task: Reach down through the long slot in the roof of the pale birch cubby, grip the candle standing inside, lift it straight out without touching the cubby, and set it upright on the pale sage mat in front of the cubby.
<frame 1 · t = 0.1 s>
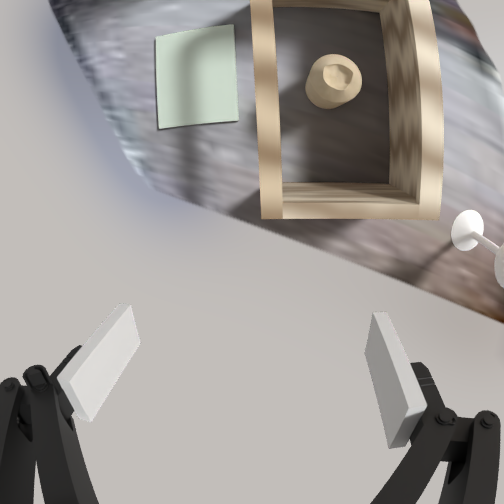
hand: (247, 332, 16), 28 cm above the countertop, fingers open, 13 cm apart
access cubby: (333, 89, 35), on the countertop
champagne flute: (467, 230, 40), on the countertop
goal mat: (195, 75, 36), on the countertop
candle: (326, 89, 35), on the countertop
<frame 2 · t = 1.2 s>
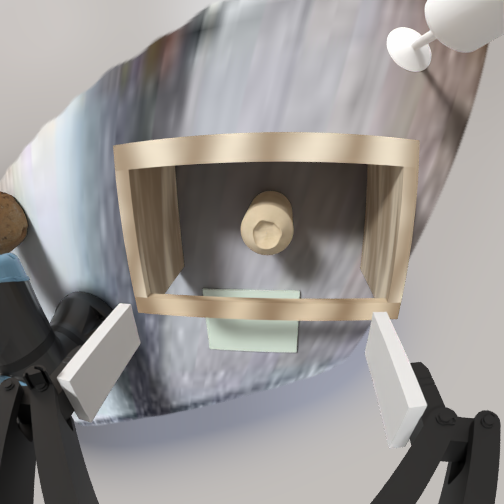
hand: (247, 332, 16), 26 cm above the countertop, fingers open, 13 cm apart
access cubby: (270, 203, 40), on the countertop
champagne flute: (409, 49, 30), on the countertop
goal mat: (251, 321, 47), on the countertop
candle: (271, 210, 41), on the countertop
block: (15, 216, 45), on the countertop, touching arm
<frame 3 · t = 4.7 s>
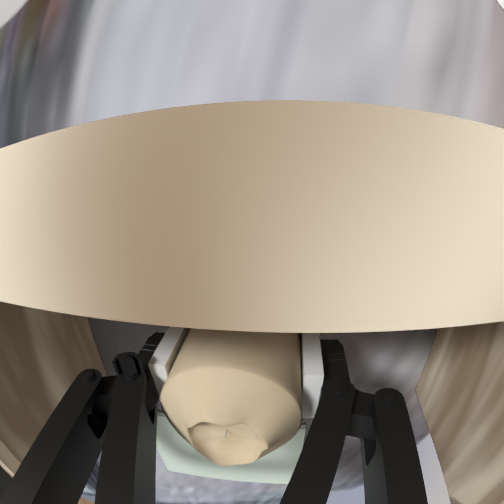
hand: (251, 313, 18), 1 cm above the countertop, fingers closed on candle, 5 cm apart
access cubby: (252, 291, 18), on the countertop
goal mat: (226, 452, 25), on the countertop
candle: (253, 304, 19), on the countertop, touching gripper
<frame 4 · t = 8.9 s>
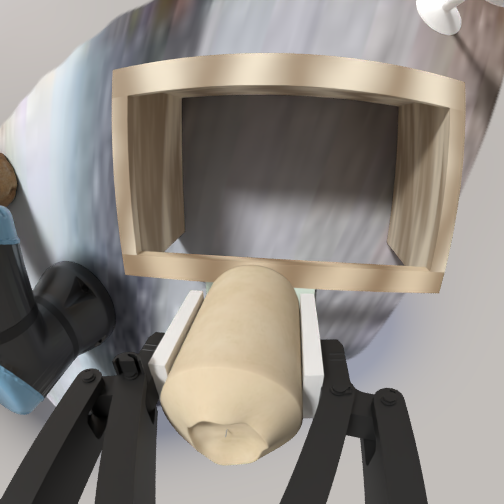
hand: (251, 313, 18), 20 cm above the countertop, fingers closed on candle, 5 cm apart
access cubby: (289, 160, 34), on the countertop
champagne flute: (439, 12, 24), on the countertop
candle: (253, 303, 19), point 19 cm above the countertop, touching gripper
block: (5, 176, 39), on the countertop
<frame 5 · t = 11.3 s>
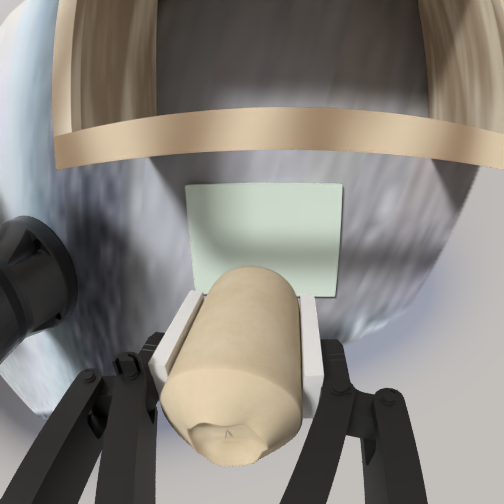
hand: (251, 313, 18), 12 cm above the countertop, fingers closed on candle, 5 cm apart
access cubby: (293, 46, 22), on the countertop
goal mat: (263, 241, 29), on the countertop
candle: (253, 304, 19), point 11 cm above the countertop, touching gripper
when the fingers open (3 cm above the countertop, at t = 13.3 s): candle drops 1 cm, resting on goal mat.
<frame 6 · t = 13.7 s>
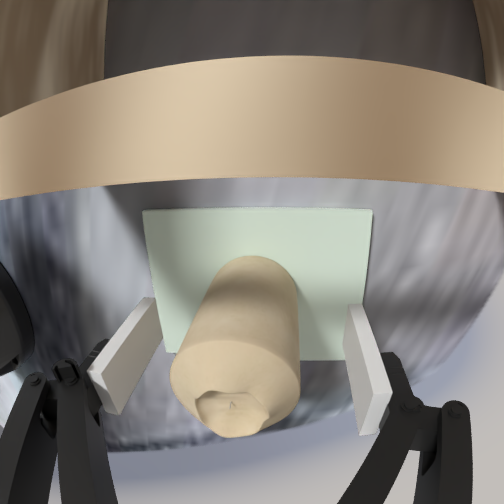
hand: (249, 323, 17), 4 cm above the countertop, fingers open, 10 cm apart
access cubby: (299, 5, 14), on the countertop
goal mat: (256, 290, 20), on the countertop
candle: (254, 292, 20), resting on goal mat
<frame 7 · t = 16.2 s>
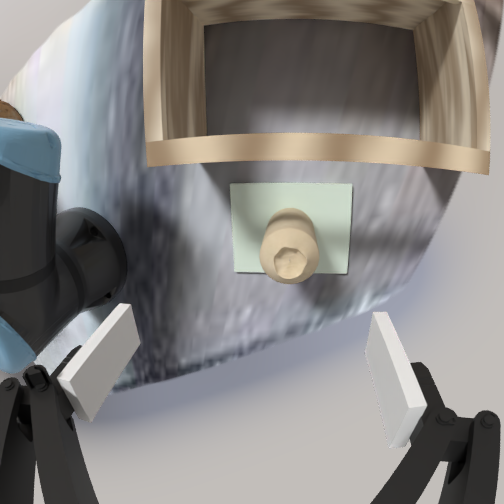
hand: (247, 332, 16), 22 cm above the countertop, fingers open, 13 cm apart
access cubby: (314, 75, 30), on the countertop
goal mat: (291, 228, 37), on the countertop
candle: (290, 229, 37), resting on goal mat
block: (12, 129, 36), on the countertop
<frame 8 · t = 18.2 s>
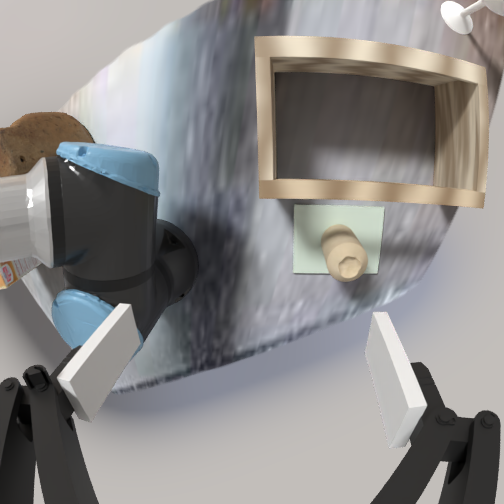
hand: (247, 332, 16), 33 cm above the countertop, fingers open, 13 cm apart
access cubby: (361, 123, 41), on the countertop
champagne flute: (456, 17, 31), on the countertop
coffeecake box: (45, 234, 53), on the countertop
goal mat: (338, 239, 47), on the countertop
candle: (337, 240, 47), resting on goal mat
block: (76, 142, 46), on the countertop
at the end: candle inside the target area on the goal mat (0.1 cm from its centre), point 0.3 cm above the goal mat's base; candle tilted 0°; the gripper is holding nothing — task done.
